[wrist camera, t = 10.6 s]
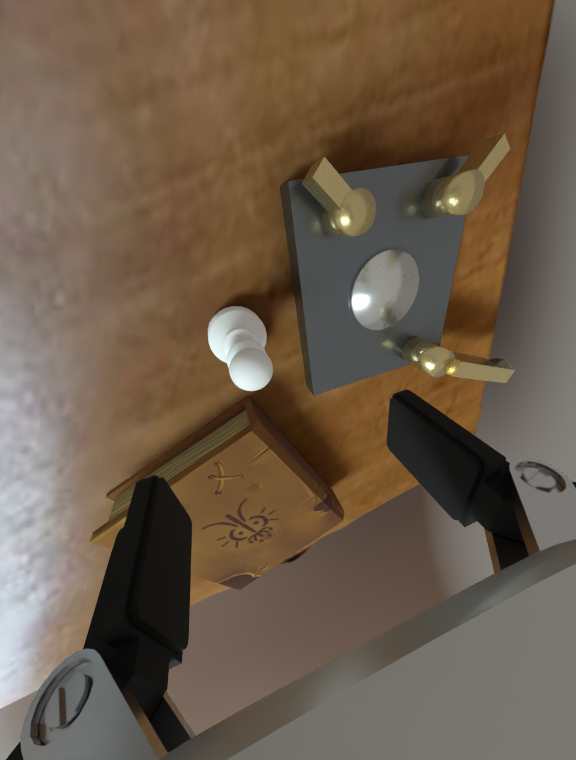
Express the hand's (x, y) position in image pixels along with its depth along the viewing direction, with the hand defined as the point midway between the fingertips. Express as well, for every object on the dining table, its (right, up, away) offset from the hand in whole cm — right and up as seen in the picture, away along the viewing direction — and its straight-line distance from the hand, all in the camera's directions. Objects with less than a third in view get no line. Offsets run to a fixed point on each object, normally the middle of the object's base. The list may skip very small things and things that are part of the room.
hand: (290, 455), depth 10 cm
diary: (-7, -11, +23) cm, 27 cm away
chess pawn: (-5, +7, +13) cm, 15 cm away
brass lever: (+18, +6, +19) cm, 27 cm away
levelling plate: (+8, +12, +14) cm, 21 cm away
